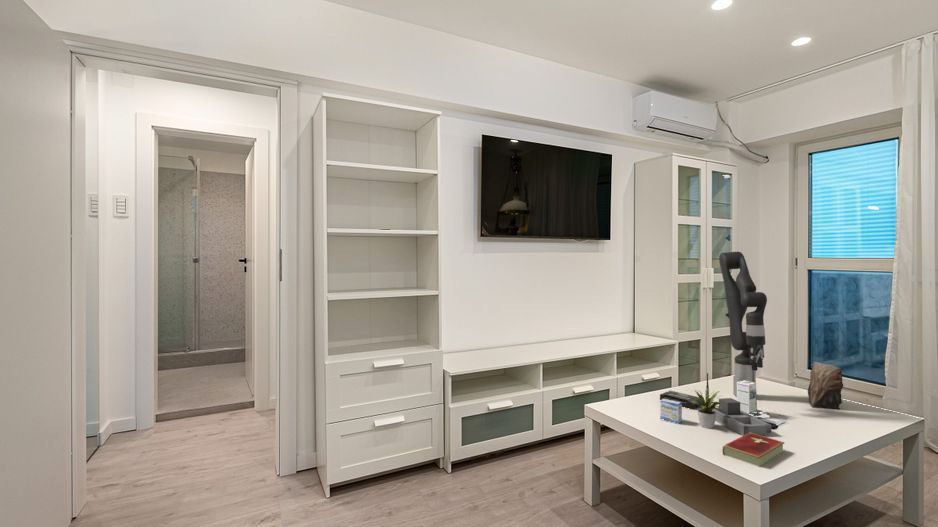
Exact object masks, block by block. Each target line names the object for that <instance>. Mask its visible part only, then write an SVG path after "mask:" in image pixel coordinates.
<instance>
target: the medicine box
mask: <svg viewBox="0 0 938 527" xmlns="http://www.w3.org/2000/svg"><path fill="white" fill-rule="evenodd" d="M659 405H660V406H659V409H660V410H659V413H660V414H659V418H660V419H659V420H661V419H664V420H667V421H666V422H668V421H671V422H670V423H672V422H675V423H674V424H677V423H679V424H680V423H682V422H683V417H682V416H683V412H682V411H683V407H682V402H678V401H673V400H668V399H662V400H661V401H660V400H659Z"/></svg>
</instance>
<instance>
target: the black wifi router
mask: <svg viewBox="0 0 938 527" xmlns="http://www.w3.org/2000/svg"><path fill="white" fill-rule="evenodd" d="M707 389H708V391H707ZM709 389H710V388H709V373H708V372H706V388H705V391H707V393H708V397H709V398H710V396H709V395H710V390H709ZM697 397H698V398H699V396H697ZM697 397H695V395H692V394H691V395H690V394H687V393H682V392H680V391H679V392H678V391H674V390H668V391H665V392H663V393H660V394H659V401H660V400H662V399H668V400H673V401H678V402H682V408H684V407H685V408H684V409H688V408H689V409H688V410H692V409H693V410H694V409H697V408H700V405H701V403H702V402H701V403H700V401H699V399H700V398H699V399H698V398H697ZM709 398H708V399H709ZM692 401H696V402H697V403H699V404H700V405H697V403H696V404H694V403H692ZM708 403H709V402H708Z"/></svg>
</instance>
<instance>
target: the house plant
mask: <svg viewBox="0 0 938 527" xmlns="http://www.w3.org/2000/svg"><path fill="white" fill-rule="evenodd" d="M695 389H696V390H695ZM695 389H694V391H692V392H693V393H694V392H695V393H696V394H695V393H694V394H695V395H696V396H695V395H694V396H695V397H697V398H698V397H699V398H700V399H699V398H698V399H699V401H700V403H701V402H702V403H701V405H700V404H699V403H697V402H696V401H692V403H694V404H696V403H697V405H700V406H699V408H698V409H697V416H698V421H699V426H700V427H701V428H704V429H713V428H714V427H715V422H716V421H715V418H716V412H715V411H713V409H717V410H718V408H720V409H721V410H722V408H721V407H719V404H721V403H719V401H714V400H715V399H719V397H721V395H719V396H717V394H719V392H720V391H715V392H714V391H712V393H709V397H708V393H707V391H708V389H707V391H706V390H705V397H704V396H703V395H702V392H701V391H699V389H697V388H695ZM685 390H687V391H688V389H685ZM698 391H699V392H698ZM708 398H709V399H708ZM708 402H709V403H708Z"/></svg>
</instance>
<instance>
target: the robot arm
mask: <svg viewBox="0 0 938 527" xmlns="http://www.w3.org/2000/svg"><path fill="white" fill-rule="evenodd" d="M718 260H719V261H718V262H719V268H720V272H721V275H722V279H723V285H724V292H725V299H726V301H725V302H726V306H727V312H728V320H729V335H730V336H729V337H730V344H731V346H732V348H733V349H734V350H736V351H741V353H739V354H737V355H736V356H735V357H734V375H733V379H732V380H733V383H732V384H733V390H732V391H733V392H732V393H733V395H734V397H736V398H737V382H740V381H744V380H745V381H751V382H754V383H756V384H757V377H756V376H757V372H756V371H758V369H760V368H761V369H763V367H764V366H763V363H764V358H765V352H764V346H765V345H766V330H765V323H764V322H765V321H764V316H765V315H764V314H765V311H766V307H767V302H768V297H767V295H766V294H765V293H764V292H763V291H757V286H756V285H755V282H754V281H753V279H752V277H751V273H750V271H749V267H748V264H747V260H746V258H745V256H744V254H743V252H741V251H730V252H729V251H728V252H721V253H720V254H719V256H718ZM730 270H739V272H738V274H737V275H736V277H735V279H734V278H733V276H732V274H731V272H730ZM748 308H756V309H755V310H753V311H749V312H747V310H748ZM746 312H747V313H746ZM744 318H745V324H746V325H745V331H743V319H744Z"/></svg>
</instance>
